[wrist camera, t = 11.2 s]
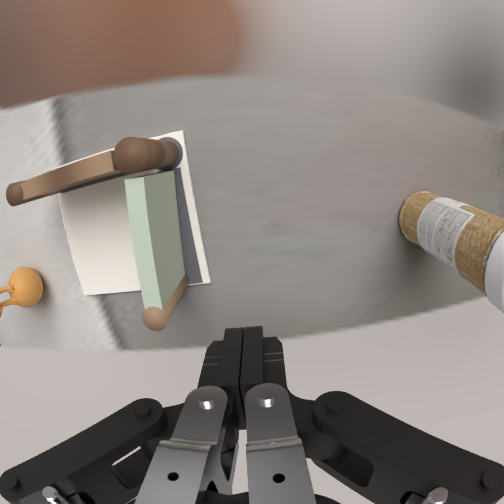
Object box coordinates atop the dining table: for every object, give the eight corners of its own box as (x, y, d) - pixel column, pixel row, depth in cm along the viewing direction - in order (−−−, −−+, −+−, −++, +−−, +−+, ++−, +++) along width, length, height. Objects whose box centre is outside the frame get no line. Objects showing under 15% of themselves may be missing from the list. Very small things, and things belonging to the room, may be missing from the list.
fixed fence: (59, 195, 22) (9, 211, 16) (55, 173, 22) (4, 184, 15) (181, 164, 21) (148, 169, 15) (176, 138, 21) (142, 132, 14)
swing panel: (156, 172, 21) (119, 180, 15) (176, 170, 21) (144, 176, 15) (171, 289, 24) (145, 330, 18) (189, 289, 24) (168, 331, 18)
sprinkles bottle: (449, 210, 22) (564, 264, 9) (422, 253, 23) (522, 334, 10) (415, 178, 21) (540, 212, 8) (386, 223, 22) (492, 297, 10)
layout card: (86, 294, 25) (84, 295, 25) (54, 168, 22) (52, 169, 21) (211, 281, 24) (210, 283, 24) (183, 130, 21) (182, 130, 20)
